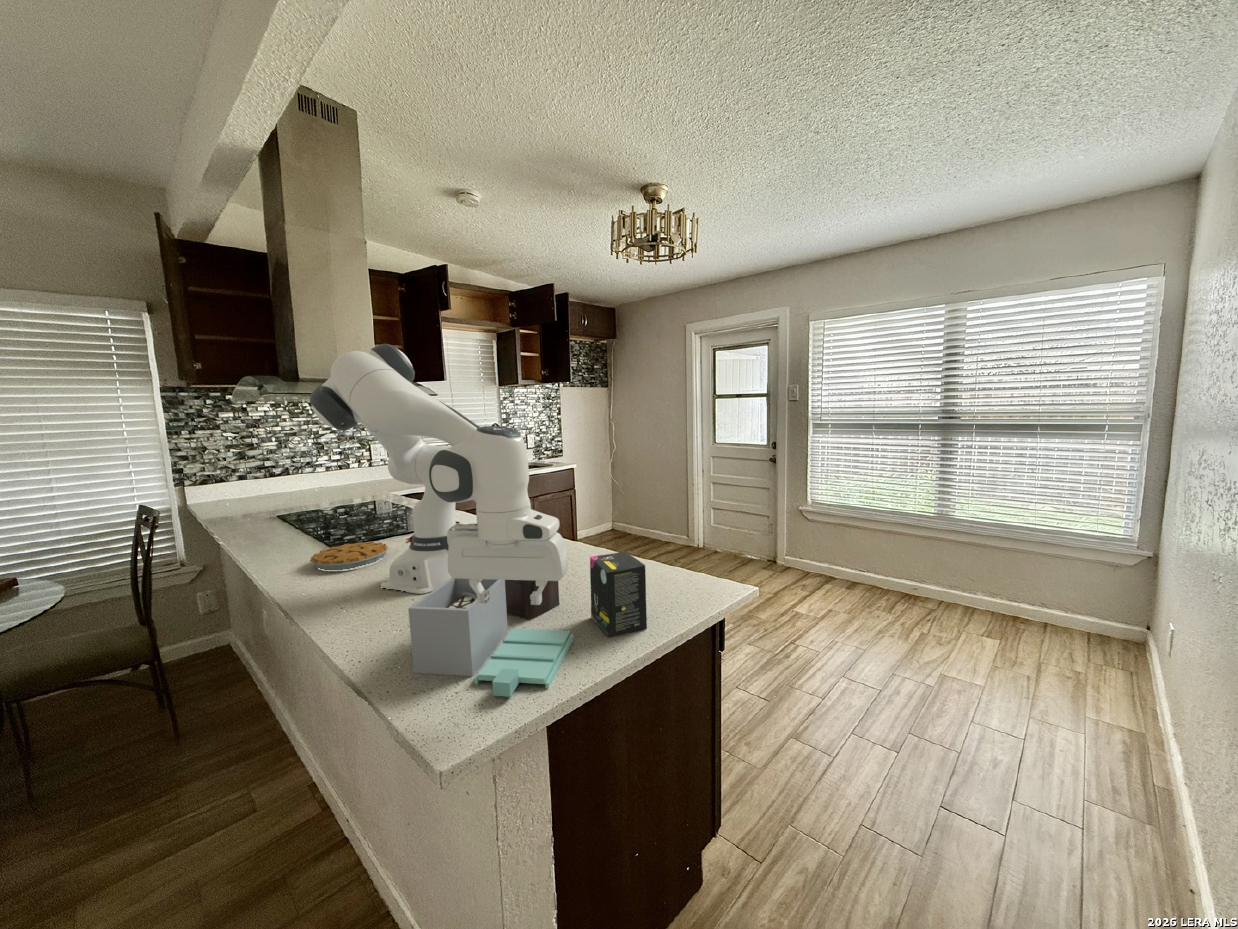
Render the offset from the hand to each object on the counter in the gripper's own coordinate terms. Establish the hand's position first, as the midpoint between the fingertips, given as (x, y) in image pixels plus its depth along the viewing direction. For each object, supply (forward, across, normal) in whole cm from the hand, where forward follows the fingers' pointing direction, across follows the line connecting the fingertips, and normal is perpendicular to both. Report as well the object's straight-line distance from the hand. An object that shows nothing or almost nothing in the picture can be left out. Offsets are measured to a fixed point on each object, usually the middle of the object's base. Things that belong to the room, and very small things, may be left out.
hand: (509, 602), depth 78 cm
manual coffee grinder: (+16, -9, +29) cm, 34 cm away
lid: (+15, 0, +6) cm, 17 cm away
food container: (+15, -14, +10) cm, 23 cm away
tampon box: (+16, +15, +25) cm, 33 cm away
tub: (+15, -14, +10) cm, 23 cm away
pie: (+16, -79, +61) cm, 101 cm away
